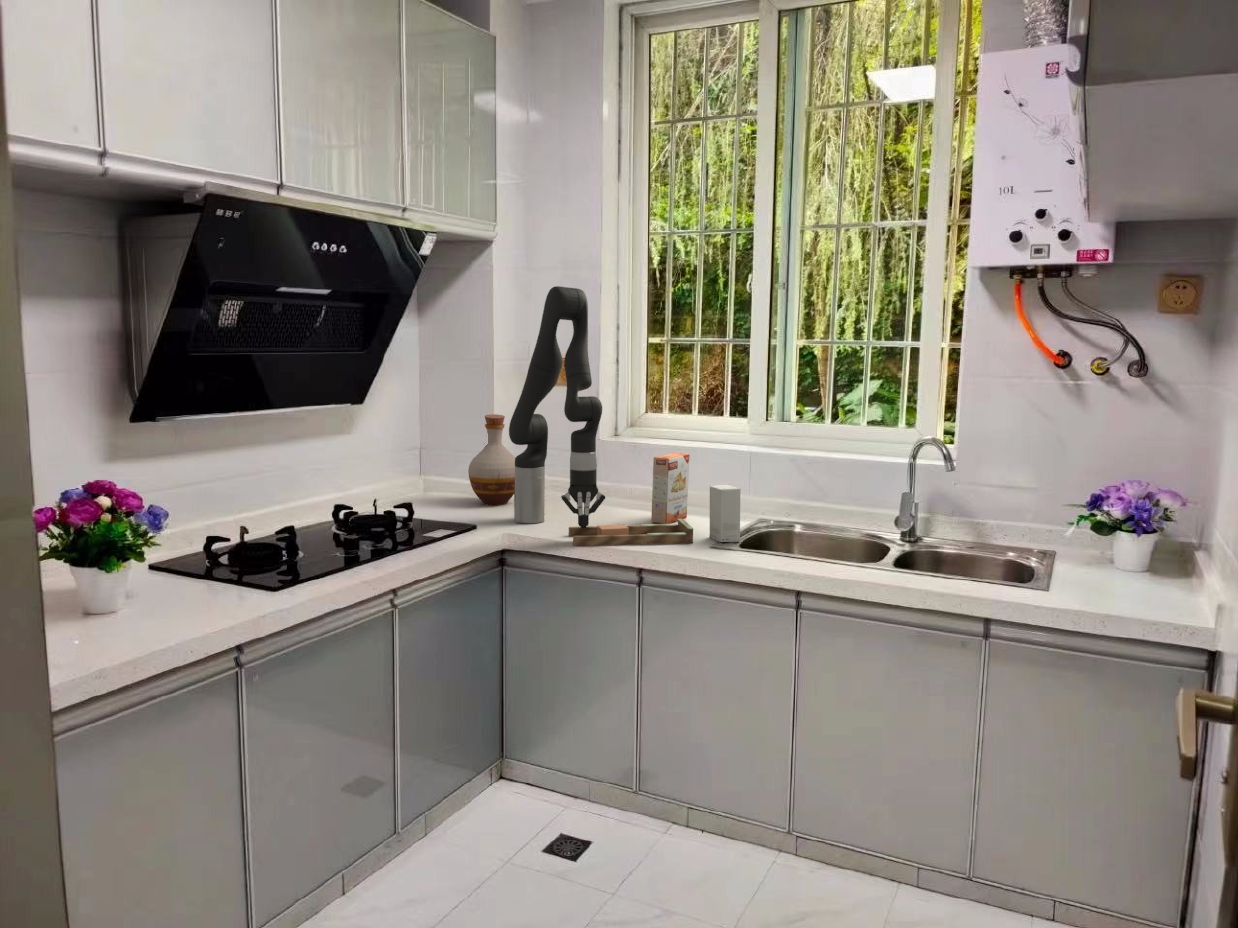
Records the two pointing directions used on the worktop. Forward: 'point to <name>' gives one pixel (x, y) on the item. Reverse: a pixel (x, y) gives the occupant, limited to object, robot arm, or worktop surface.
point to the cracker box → (670, 488)
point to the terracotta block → (612, 529)
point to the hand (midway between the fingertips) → (583, 527)
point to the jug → (493, 466)
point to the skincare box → (725, 513)
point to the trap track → (635, 535)
